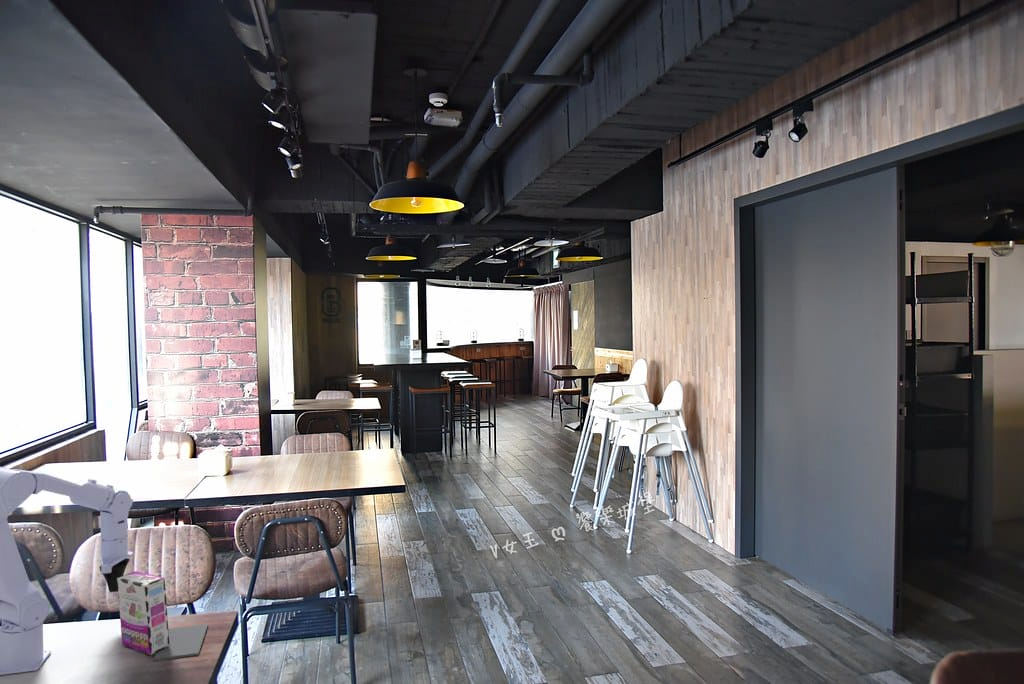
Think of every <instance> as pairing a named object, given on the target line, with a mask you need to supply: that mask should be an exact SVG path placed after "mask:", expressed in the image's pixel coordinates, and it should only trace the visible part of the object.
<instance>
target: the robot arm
mask: <svg viewBox="0 0 1024 684" xmlns="http://www.w3.org/2000/svg"><path fill="white" fill-rule="evenodd" d="M97 482H98V481H97V480H95V479H92V478H88V479H87V480H86V479H83V480H79V481H78V482H73V481H72V482H71V481H69V480H66V479H62V478H60V477H59V478H58V477H57V476H53V475H50V474H47V473H43V472H37V471H31V470H24V469H17V468H16V469H15V468H12V469H10V468H7V467H4V466H0V620H1V626H0V676H2V675H10V674H12V675H13V674H19V673H28V672H35V671H38V670H39V669H40V667H41V666H42V665H43V663H45V661H46V660H47V659H48V657H49V655H50V654H51V652H52V651H51V649H50V650H44V625H43V624H44V621H45V619H47V617H48V615H49V612H50V603H49V602H48V600H47V599H45V598H43V596H41V594H40V591H39V589H38V588H37V587H35V585H34V584H33V583H31V581H30V579H29V576H28V573H27V571H26V568H25V565H24V563H23V560H22V557H21V554H20V552H19V549H18V546H17V542H16V541H15V538H14V535H13V533H12V530H11V529H12V528H11V526H10V524H9V521H8V517H9V516H10V515H11V514H12V513H13V512H14V511H15V510H16V509H18V508H19V507H20V506H21V505H22V504H23V503H24V502H25V501H27V500H28V499H29V497H31V495H32V494H33V495H37V494H39V493H41V491H45V492H49V493H53V494H59V495H62V496H66V497H67V496H68V497H69V500H70V502H71V503H72V504H74V505H78V506H81V507H85V508H89V509H93V510H97V511H98V512H100V513H99V514H100V516H99V517H100V557H99V560H100V566H99V571H100V574H101V575H103V577H104V579H105V582H106V584H107V585H106V586H107V587H108V590H109V593H116V592H117V593H118V584H117V578H119V577H122V576H124V575H125V571H126V568H127V566H128V564H129V562H130V558H131V557H133V556H134V551H129V549H128V548H129V547H128V546H129V544H128V543H129V541H128V539H129V538H128V537H129V536H128V535H129V533H128V531H129V529H128V526H129V525H128V517H129V511H130V510H131V507H132V506H133V503H134V499H133V498H131V494H129V492H128V491H126V490H122V489H117V488H114V485H111V484H107V485H104V484H101V483H97Z"/></svg>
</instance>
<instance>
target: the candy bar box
mask: <svg viewBox="0 0 1024 684" xmlns="http://www.w3.org/2000/svg"><path fill="white" fill-rule="evenodd" d="M117 584H118V592H117V593H118V594H117V595H118V607H119V608H118V609H119V617H120V618H119V620H120V633H121V645H122V646H123V647H125V648H129V649H131V650H135V651H137V652H141V653H144V654H146V655H150V656H152V655H155V654H156V652H158V651H160V650H162V649H164V648H166V647H168V646H169V645H170V643H169V631H168V629H169V621H168V617H169V616H168V607H167V606H168V605H167V593H166V580H165V577H163V576H160V575H159V576H158V575H156V574H155V575H154V574H150V573H146V572H141V571H138V570H134V571H133V572H129V573H127V574H124V576H122V577H119V578H117Z"/></svg>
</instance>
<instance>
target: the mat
mask: <svg viewBox="0 0 1024 684" xmlns="http://www.w3.org/2000/svg"><path fill="white" fill-rule="evenodd" d="M207 627H209V624H201V625H199V624H198V625H191V626H184V627H175V628H168V631H169V643H170V645H169V646H168V647H166V648H164V649H162V650H160V651H158V652H156V653H155V654H154V655H153V656H154V657H153V661H163V660H172V659H178V658H186V656H187V657H193V656H194V655H195V656H199V655H200V651H201V649H200V648H202V646H201V645H203V643H204V640H203V639H205V637H204V636H206V634H205V633H207V631H208V628H207ZM206 630H207V631H206Z"/></svg>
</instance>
